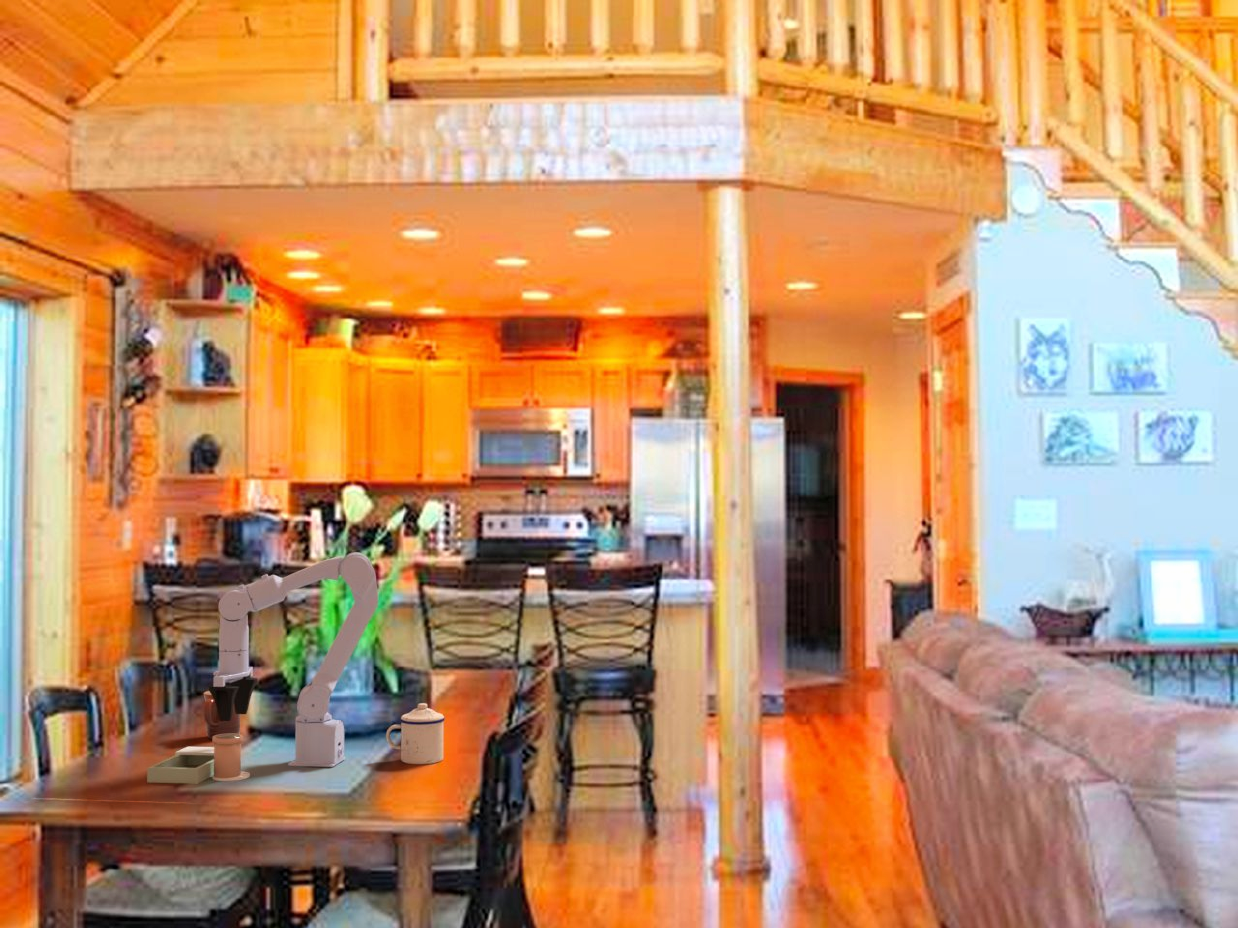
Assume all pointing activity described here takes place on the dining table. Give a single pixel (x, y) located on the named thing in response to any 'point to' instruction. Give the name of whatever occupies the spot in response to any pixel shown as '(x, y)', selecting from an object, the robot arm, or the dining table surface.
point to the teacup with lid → (420, 736)
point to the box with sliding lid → (184, 766)
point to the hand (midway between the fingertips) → (233, 717)
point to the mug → (213, 721)
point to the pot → (227, 755)
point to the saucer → (242, 776)
